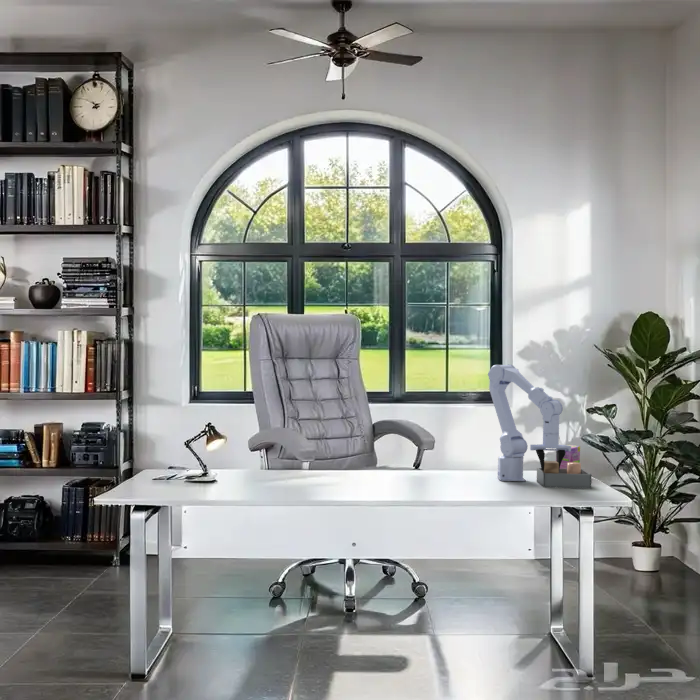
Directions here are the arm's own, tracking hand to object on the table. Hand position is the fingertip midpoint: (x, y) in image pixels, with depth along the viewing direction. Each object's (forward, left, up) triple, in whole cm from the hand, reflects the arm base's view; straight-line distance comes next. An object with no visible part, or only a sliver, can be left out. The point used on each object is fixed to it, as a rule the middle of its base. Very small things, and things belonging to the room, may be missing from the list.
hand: (550, 470), depth 332 cm
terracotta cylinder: (+10, +5, -5) cm, 12 cm away
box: (+12, +22, -6) cm, 26 cm away
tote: (+6, +2, -6) cm, 8 cm away
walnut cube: (0, 0, -2) cm, 2 cm away
